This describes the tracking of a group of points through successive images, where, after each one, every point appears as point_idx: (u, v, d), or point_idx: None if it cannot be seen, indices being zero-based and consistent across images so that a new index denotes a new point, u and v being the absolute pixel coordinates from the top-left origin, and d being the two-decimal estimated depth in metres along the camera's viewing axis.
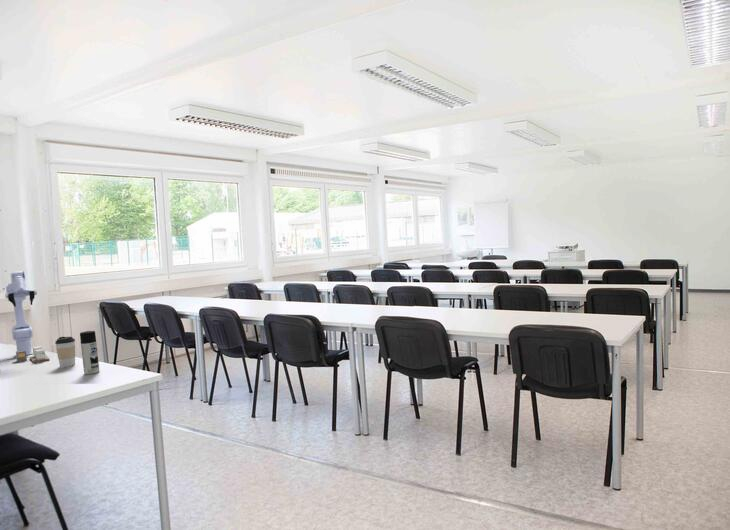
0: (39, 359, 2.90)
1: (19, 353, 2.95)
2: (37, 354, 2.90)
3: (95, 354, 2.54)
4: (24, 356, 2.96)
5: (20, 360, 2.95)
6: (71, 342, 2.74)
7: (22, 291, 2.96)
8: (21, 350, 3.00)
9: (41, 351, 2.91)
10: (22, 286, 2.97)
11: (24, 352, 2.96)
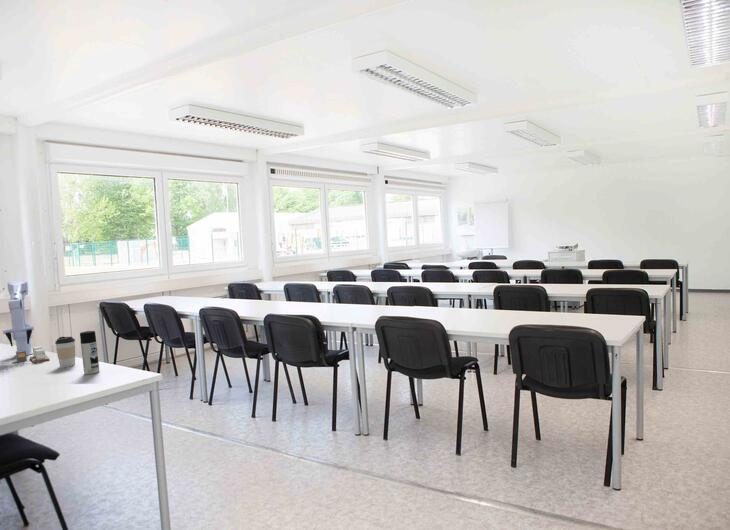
0: (39, 359, 2.90)
1: (19, 353, 2.95)
2: (37, 354, 2.90)
3: (95, 354, 2.54)
4: (24, 356, 2.96)
5: (20, 360, 2.95)
6: (71, 342, 2.74)
7: None
8: (21, 350, 3.00)
9: (41, 351, 2.91)
10: (20, 324, 2.95)
11: (24, 352, 2.96)
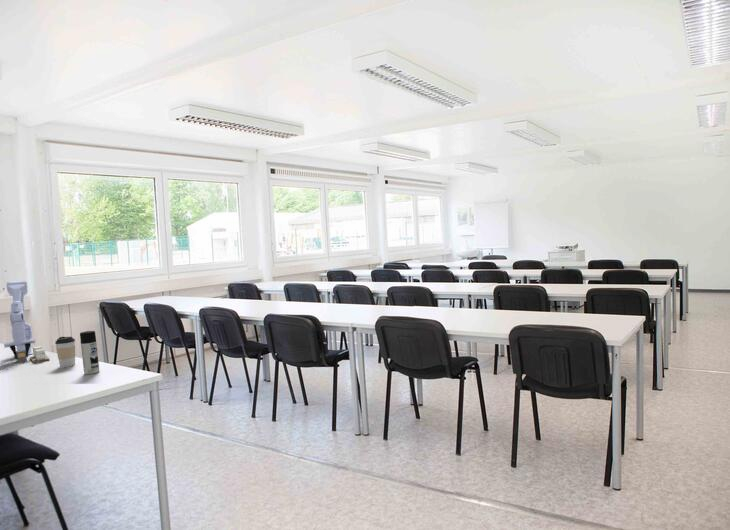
0: (39, 359, 2.90)
1: (19, 353, 2.95)
2: (37, 354, 2.90)
3: (95, 354, 2.54)
4: (24, 356, 2.96)
5: (20, 360, 2.95)
6: (71, 342, 2.74)
7: None
8: (21, 350, 3.00)
9: (41, 351, 2.91)
10: (21, 337, 2.95)
11: (24, 352, 2.96)
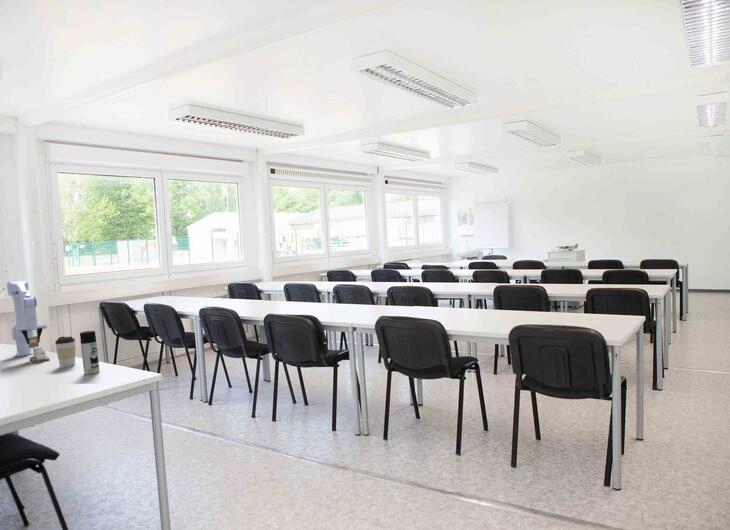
0: (39, 359, 2.90)
1: (31, 339, 2.94)
2: (37, 354, 2.90)
3: (95, 354, 2.54)
4: (36, 342, 2.96)
5: (32, 346, 2.95)
6: (71, 342, 2.74)
7: None
8: (33, 336, 2.99)
9: (41, 351, 2.91)
10: (33, 322, 2.95)
11: (36, 338, 2.96)
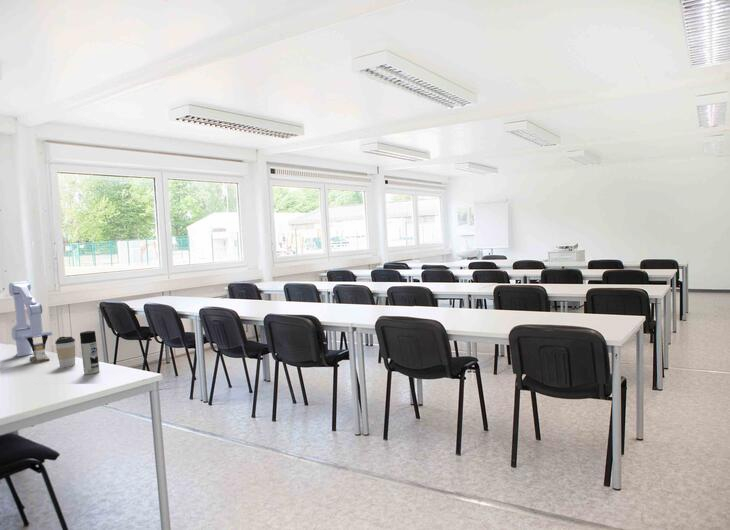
0: (39, 359, 2.90)
1: (37, 346, 2.95)
2: (37, 354, 2.90)
3: (95, 354, 2.54)
4: None
5: None
6: (71, 342, 2.74)
7: None
8: (38, 343, 2.99)
9: (41, 351, 2.91)
10: (39, 329, 2.95)
11: (42, 345, 2.96)
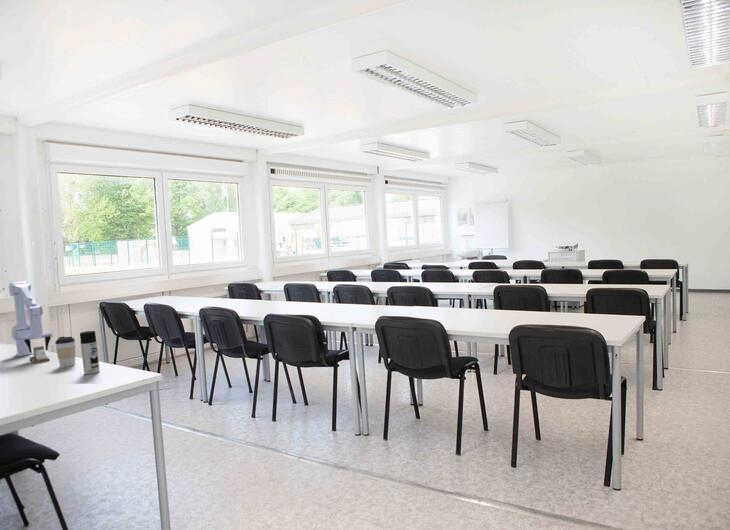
0: (39, 359, 2.90)
1: (37, 349, 2.95)
2: (37, 354, 2.90)
3: (95, 354, 2.54)
4: None
5: None
6: (71, 342, 2.74)
7: None
8: (39, 346, 2.99)
9: (41, 351, 2.91)
10: (39, 331, 2.95)
11: (42, 348, 2.96)
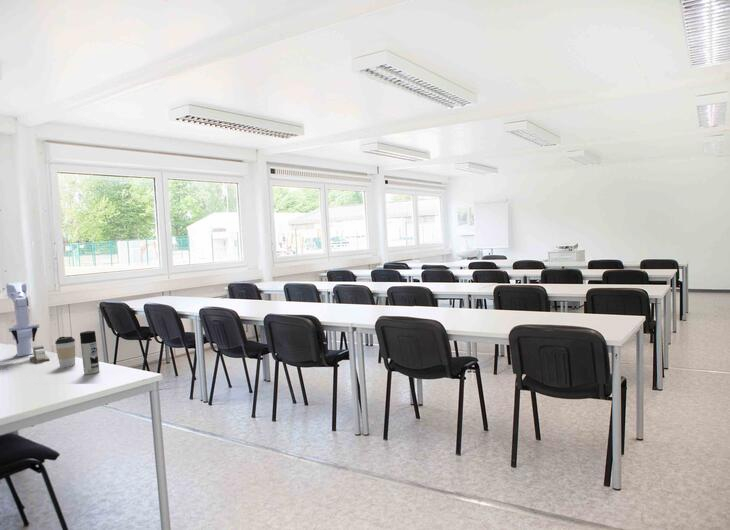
0: (39, 359, 2.90)
1: (37, 349, 2.95)
2: (37, 354, 2.90)
3: (95, 354, 2.54)
4: None
5: None
6: (71, 342, 2.74)
7: None
8: (39, 346, 2.99)
9: (41, 351, 2.91)
10: (26, 322, 3.00)
11: (42, 348, 2.96)
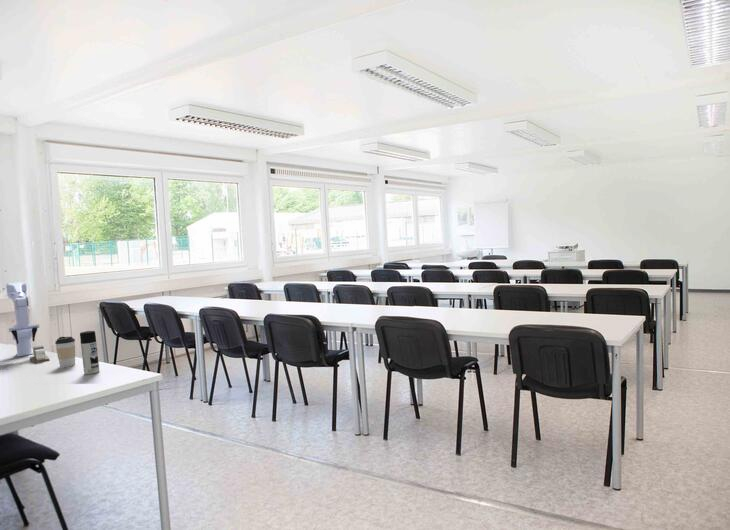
0: (39, 359, 2.90)
1: (37, 349, 2.95)
2: (37, 354, 2.90)
3: (95, 354, 2.54)
4: None
5: None
6: (71, 342, 2.74)
7: None
8: (39, 346, 2.99)
9: (41, 351, 2.91)
10: (26, 322, 3.00)
11: (42, 348, 2.96)
